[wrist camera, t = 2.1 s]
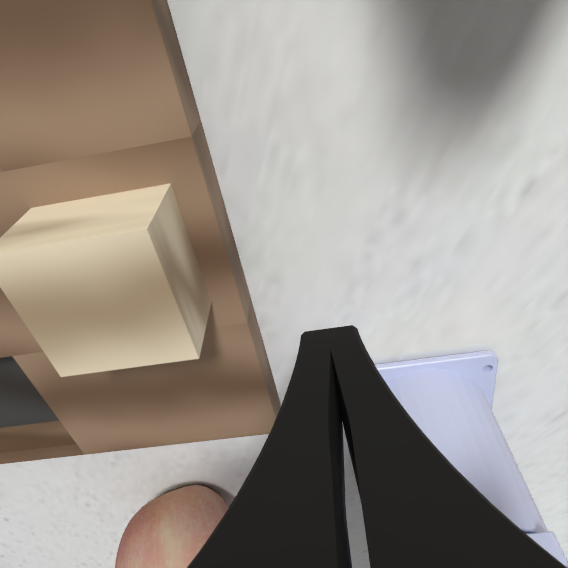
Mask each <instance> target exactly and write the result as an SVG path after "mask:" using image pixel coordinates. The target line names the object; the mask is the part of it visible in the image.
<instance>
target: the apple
mask: <svg viewBox="0 0 568 568" xmlns="http://www.w3.org/2000/svg"><path fill="white" fill-rule="evenodd" d="M228 508H229V506H228V505H227V503H226V502H225V501H224V500H223V499H222V498H221V497H220V496H219V495H218V494H217V493H215V492H214V491H213V490H211V489H209V488H207V487H204V486H201V485H191V486H186V487H183V488H179V489H176V490H174V491H171V492H168V493H165V494H163V495H161V496H159V497H157V498H155V499H154V500H152V501H150V502H148V503H147V504H146V505H144V506H143V507H142V508H141V509H140V510H139V511H138V512H137V513H136V514H135V515H134V516H133V517H132V519H131V520H130V522H129V523H128V525H127V527H126V529H125V531H124V533H123V536H122V538H121V541H120V545H119V548H118V552H117V558H116V564H115V568H187V567H188V565H189V564H190V563H191V562H192V560H193V559H194V558H195V556H196V555H197V554H198V552H199V551H200V550H201V548H202V547H203V545H204V544H205V543H206V541H207V540H208V538H209V537H210V535H211V534H212V532H213V531H214V529H215V528H216V526H217V525H218V523H219V522H220V520H221V519H222V517H223V516H224V514H225V513H226V511H227V510H228Z"/></svg>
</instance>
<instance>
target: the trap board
mask: <svg viewBox="0 0 568 568" xmlns="http://www.w3.org/2000/svg"><path fill="white" fill-rule="evenodd" d="M170 183H171V185H172V188H173V191H174V194H175V197H176V200H177V203H178V205H179V208H180V211H181V214H182V217H183V220H184V223H185V226H186V229H187V231H188V234H189V237H190V240H191V243H192V246H193V249H194V252H195V255H196V258H197V260H198V263H199V266H200V269H201V272H202V275H203V278H204V281H205V284H206V286H207V289H208V292H209V295H210V298H211V301H212V302H211V306H210V311H209V316H208V320H207V325H206V329H205V334H204V339H203V343H202V348H201V353H200V357H199V359H193V360H186V361H178V362H171V363H163V364H156V365H148V366H141V367H133V368H126V369H118V370H111V371H103V372H95V373H88V374H80V375H73V376H65V377H60V375H59V374H58V372H57V371H56V369H55V368H54V366H53V365H52V363H51V362H50V360H49V359H48V357H47V356H46V354H45V353H44V351H43V350H42V348H41V347H40V345H39V344H38V342H37V341H36V340H35V338H34V337H33V335H32V334H31V332H30V331H29V329H28V328H27V326H26V325H25V323H24V322H23V320H22V319H21V317H20V316H19V314H18V313H17V311H16V310H15V308H14V307H13V305H12V304H11V302H10V301H9V299H8V298H7V296H6V295H5V293H4V292H3V291H2V289H1V288H0V464H5V463H14V462H23V461H32V460H41V459H49V458H58V457H67V456H76V455H85V454H94V453H103V452H111V451H120V450H129V449H138V448H147V447H156V446H164V445H173V444H182V443H191V442H200V441H209V440H218V439H226V438H235V437H244V436H253V435H262V434H270V432H271V429H272V427H273V425H274V422H275V420H276V417H277V415H278V413H279V410H280V401H279V397H278V394H277V390H276V386H275V383H274V379H273V376H272V372H271V369H270V365H269V362H268V358H267V354H266V351H265V347H264V344H263V340H262V337H261V333H260V330H259V326H258V322H257V319H256V315H255V312H254V308H253V305H252V301H251V298H250V294H249V290H248V287H247V283H246V280H245V276H244V273H243V269H242V266H241V262H240V258H239V255H238V251H237V248H236V244H235V241H234V237H233V234H232V230H231V227H230V223H229V219H228V216H227V212H226V209H225V205H224V202H223V198H222V195H221V191H220V187H219V184H218V180H217V177H216V173H215V170H214V166H213V163H212V159H211V155H210V152H209V148H208V145H207V141H206V138H205V134H204V131H203V127H202V123H201V120H200V116H199V113H198V109H197V106H196V102H195V99H194V95H193V91H192V88H191V84H190V81H189V77H188V74H187V70H186V67H185V63H184V59H183V56H182V52H181V49H180V45H179V42H178V38H177V35H176V31H175V28H174V24H173V20H172V17H171V13H170V10H169V6H168V3H167V0H0V237H1V236H2V235H4V234H5V233H6V232H7V231H8V230H9V229H10V228H11V227H12V226H13V225H14V224H15V223H16V222H17V221H18V220H19V219H20V218H21V217H22V216H23V215H24V214H25V213H26V212H27V211H29V210H30V209H31V208H34V207H39V206H45V205H51V204H56V203H62V202H68V201H73V200H79V199H85V198H91V197H96V196H102V195H108V194H113V193H119V192H125V191H130V190H136V189H142V188H147V187H153V186H159V185H164V184H170Z"/></svg>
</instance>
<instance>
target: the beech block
mask: <svg viewBox="0 0 568 568" xmlns="http://www.w3.org/2000/svg"><path fill="white" fill-rule="evenodd" d="M0 288H1V289H2V291H3V292H4V293H5V295H6V296H7V298H8V299H9V301H10V302H11V304H12V305H13V307H14V308H15V310H16V311H17V313H18V314H19V316H20V317H21V319H22V320H23V322H24V323H25V325H26V326H27V328H28V329H29V331H30V332H31V334H32V335H33V337H34V338H35V340H36V341H37V342H38V344H39V345H40V347H41V348H42V350H43V351H44V353H45V354H46V356H47V357H48V359H49V360H50V362H51V363H52V365H53V366H54V368H55V369H56V371H57V372H58V374H59V375H60V377H65V376H73V375H80V374H88V373H95V372H103V371H111V370H118V369H126V368H133V367H141V366H148V365H156V364H163V363H171V362H178V361H186V360H193V359H199V357H200V353H201V348H202V343H203V339H204V334H205V329H206V325H207V320H208V316H209V311H210V306H211V302H212V301H211V298H210V295H209V292H208V289H207V286H206V284H205V281H204V278H203V275H202V272H201V269H200V266H199V263H198V260H197V258H196V255H195V252H194V249H193V246H192V243H191V240H190V237H189V234H188V231H187V229H186V226H185V223H184V220H183V217H182V214H181V211H180V208H179V205H178V203H177V200H176V197H175V194H174V191H173V188H172V185H171V183H170V184H164V185H159V186H153V187H147V188H142V189H136V190H130V191H125V192H119V193H113V194H108V195H102V196H96V197H91V198H85V199H79V200H73V201H68V202H62V203H56V204H51V205H45V206H39V207H34V208H31V209H30V210H29V211H27V212H26V213H25V214H24V215H23V216H22V217H21V218H20V219H19V220H18V221H17V222H16V223H15V224H14V225H13V226H12V227H11V228H10V229H9V230H8V231H7V232H6V233H5V234H4V235H2V236H1V237H0Z"/></svg>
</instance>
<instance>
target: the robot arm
mask: <svg viewBox="0 0 568 568" xmlns="http://www.w3.org/2000/svg"><path fill="white" fill-rule="evenodd" d="M497 364H498V357H497V356H496V354H495V353H494V352H493V351H479V352H471V353H463V354H456V355H448V356H440V357H432V358H424V359H416V360H408V361H400V362H392V363H384V364H376V365H374V363H373V361H372V359H371V358H370V356H369V354H368V352H367V350H366V348H365V346H364V344H363V342H362V340H361V338H360V335H359V332H358V329H357V328H356V327H354V326H353V325H351V326H344V327H337V328H329V329H322V330H314V331H307V332H304V333H303V334H302V335H301V340H300V346H299V351H298V356H297V360H296V363H295V367H294V370H293V374H292V377H291V380H290V383H289V386H288V389H287V392H286V395H285V397H284V400H283V403H282V405H281V408H280V410H279V413H278V415H277V417H276V420H275V422H274V425H273V427H272V429H271V432H270V434H269V436H268V438H267V440H266V442H265V444H264V446H263V448H262V450H261V452H260V454H259V456H258V458H257V460H256V462H255V464H254V466H253V468H252V470H251V471H250V473H249V475H248V477H247V478H246V480H245V482H244V484H243V485H242V487H241V489H240V491H239V492H238V494H237V496H236V497H235V499H234V500H233V502H232V504H231V505H230V507H229V508H228V510H227V511H226V513H225V514H224V516H223V517H222V519H221V520H220V522H219V523H218V525H217V526H216V528H215V529H214V531H213V532H212V534H211V535H210V537H209V538H208V540H207V541H206V543H205V544H204V545H203V547H202V548H201V550H200V551H199V552H198V554H197V555H196V556H195V558H194V559H193V560H192V562H191V563H190V564H189V565H188V567H187V568H352V564H351V555H350V547H349V539H348V530H347V521H346V507H345V481H344V452H343V425H344V430H345V434H346V439H347V443H348V447H349V452H350V456H351V460H352V465H353V469H354V473H355V478H356V482H357V486H358V491H359V495H360V499H361V504H362V510H363V517H364V524H365V531H366V538H367V545H368V552H369V559H370V566H371V568H568V561H567V559H566V557H565V555H564V553H563V551H562V549H561V547H560V545H559V542H558V540H557V538H556V536H555V534H554V532H552V531H548V530H547V528H546V525H545V523H544V521H543V519H542V517H541V515H540V513H539V510H538V508H537V506H536V504H535V502H534V500H533V498H532V495H531V493H530V491H529V489H528V487H527V485H526V483H525V480H524V478H523V476H522V474H521V472H520V470H519V468H518V465H517V463H516V461H515V459H514V457H513V455H512V452H511V450H510V448H509V446H508V444H507V442H506V440H505V437H504V435H503V433H502V431H501V429H500V427H499V425H498V422H497V420H496V418H495V416H494V414H493V412H492V403H493V395H494V387H495V380H496V372H497ZM487 365H488V366H487ZM485 366H486V367H485ZM342 421H343V425H342Z"/></svg>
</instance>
